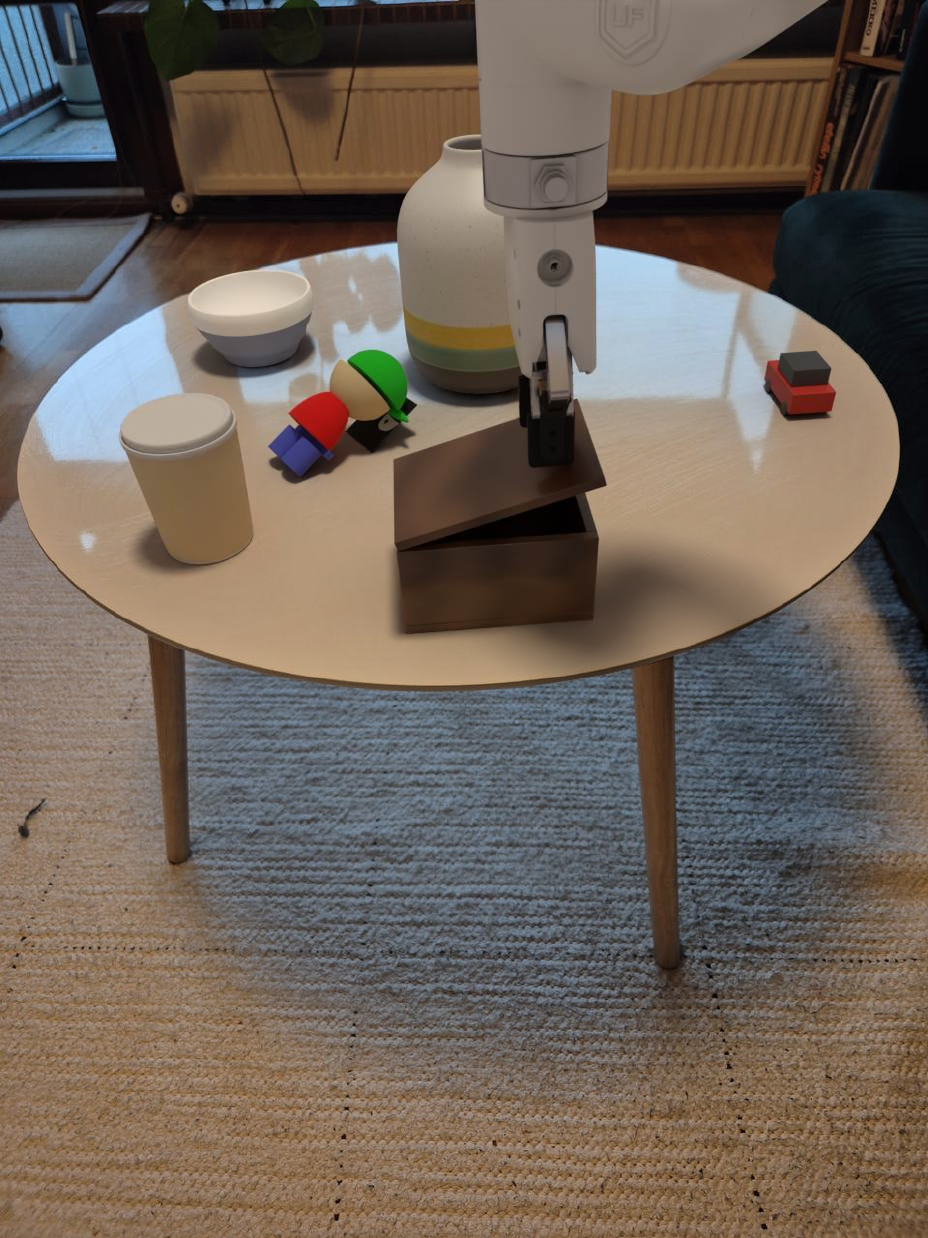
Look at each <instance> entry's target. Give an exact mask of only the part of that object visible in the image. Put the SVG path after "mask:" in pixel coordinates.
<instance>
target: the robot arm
mask: <svg viewBox="0 0 928 1238" xmlns="http://www.w3.org/2000/svg"><path fill="white" fill-rule="evenodd" d="M828 1H829V0H474V7H475V8H474V9H475V30H476V55H477V56H476V57H477V75H478V78H477V80H478V100H479V121H480V123H479V124H480V134H481V148H482V171H483V193H484V206H485V208H486V209H487V210H489V211H491V212H492V213H495V214H497V215H501V216H503V219H504V249H505V273H506V289H507V300H508V310H509V318H510V324H511V330H512V336H513V340H514V345H515V349H516V353H517V357H518V361H519V365H520V368H521V374H524V375H520V376H518V384H519V387H518V418H519V421H520V425H521V426H522V427H524V428H527V437H528V463H529V466H530V467H532V468H539V467H551V466H563V465H570V464H572V463H573V462H574V438H575V411H574V401H573V400H574V370H573V369H574V367H573V360H574V363H575V366H577V370H578V372H579V373H585V375H591V374H593V372H594V371H595V370H596V368H597V257H596V256H597V255H596V253H597V251H596V236H595V234H596V233H595V224H594V223H595V222H594V221H595V220H594V212H593V211H595V210H597V209H599V208H601V207H602V206H604V205H605V204H606V202H608V187H609V164H610V136H611V114H612V113H611V111H612V92H613V91H616V92H620V93H623V94H624V93H625V94H632V95H636V96H637V95H638V96H654V95H663V94H666V93H670V92H673V91H676V90H679V89H681V88H683V87H685V86H688V85H690V84H691V83H693V82H696V81H698V80H700V79H701V78H705V77H706V76H708V75H709V74H711V73H712V72H714V71H715V70H718V69H719V68H722V67H724V66H726V65H729V64H732V63H733V62H735V61H738V60H740V59H742V58H744V57H746V56H748V55H749V54H750V53H753V52H754V51H755V50H757V49H759V48H761V47H762V46H764V45H765V44H767V43H768V42H770V41H771V40H773V39H774V38H775V37H777V36H778V35H779V34H782V33H783V32H784V31H786V30H787V29H788V28H790V27H792V26H793V25H794V24H796V23H797V22H799V21H800V20H802V19H803V18H805V17H806V16H807V15H809V14H810V13H812V12H813V11H815V10H816V9H817V8H819V7H821V6H822V5H824V4H825V3H827V2H828ZM546 380H547V390H542V393H541V395H540V384H539V381H546ZM529 382H530V386H529Z"/></svg>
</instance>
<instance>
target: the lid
mask: <svg viewBox="0 0 928 1238" xmlns="http://www.w3.org/2000/svg"><path fill="white" fill-rule="evenodd" d="M539 384H540V395H541V393H542V390H547V380H546V381H539ZM529 386H530V382H529ZM573 401H574V411H575V438H574V462H573V463H572V464H570V465H563V466H551V467H539V468H532V467H530V466H529V463H528V437H527V428H524V427H522V426H521V425H520V421H519V417H517V418H514V419H510V420H508V421H507V420H506V421H504V422H502V423H498V424H496V425H492V426H490V427H487V428H483V429H481V430H477V431H475V432H472V433H468V434H466V435H462V436H460V437H456V438H453V439H450V440H447V441H445V442H441V443H438V444H436V445H431V446H429V447H426V448H423V449H421V450H418V451H414V452H411V453H408V454H405V455H402V456H399V457H396V458H394V459H393V461H392V462H393V468H392V469H393V544H394V546H395V548H396V551H397V550H398V551H401V550H404V549H407V548H410V547H413V546H417V545H420V544H423V543H426V542H429V541H433V540H436V539H439V538H442V537H445V536H449V535H452V534H455V533H458V532H461V531H464V530H468V529H471V528H474V527H477V526H480V525H484V524H487V523H490V522H493V521H496V520H500V519H503V518H506V517H509V516H512V515H515V514H519V513H522V512H525V511H528V510H531V509H535V508H538V507H541V506H544V505H547V504H550V503H554V502H557V501H560V500H563V499H566V498H570V497H573V496H576V495H579V494H582V493H585V494H587V493H589V492H592V491H596V490H597V489H601V488H604V487H607V486H608V484H607V479H606V477H605V473H604V470H603V468H602V465H601V461H600V459H599V457H598V454H597V450H596V448H595V444H594V442H593V438H592V435H591V434H590V430H589V428H588V424H587V421H586V419H585V416H584V414H583V411H582V407H581V404H580V402H579V399H578V398H573Z"/></svg>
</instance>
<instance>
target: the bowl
mask: <svg viewBox="0 0 928 1238" xmlns="http://www.w3.org/2000/svg"><path fill="white" fill-rule="evenodd" d="M310 283H311V282H310V281H309V280H308V279H307V278H306V277H304V276H302V275H300V274H298V273H295V272H293V271H287V270H279V269H276V270H275V269H256V270H245V271H237V272H233V273H229V274H225V275H222V276H221V275H220V276H218V277H215V278H212V279H210V280H207V281H205V282H202V284H199V285H198V286H196V287H195V288H194V289H193V290H192V291H191V292H190V293H189V294H188V297H187V307H188V313H189V316H190V319H191V322H192V324H193V325H194V327H195V328H196V329H197V330H198V332H199V333H200V334H201V336H202V337H203V338H205V339H206V341H208V342H209V345H210V346H211V347H212V348H213V349H215V350H216V351H217V352H218V353H220V354H222V356H223V357H224V358H225V360H226V361H228V362H229V363H230V364H233V365H235V366H239V367H244V368H263V367H270V366H273V365H277V364H280V363H282V362H284V361H287V360H288V359H290V358H291V357H292V356H293V355H295V354H296V353H297V351H298V348H299V343H300V342H301V340H302V339H303V338H304V336H305V334H306V332H307V326H308V324H309V323H310V321H311V318H312V313H313V311H314V305H315V304H314V294H313V290H312V286H311V284H310Z"/></svg>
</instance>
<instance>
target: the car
mask: <svg viewBox="0 0 928 1238" xmlns="http://www.w3.org/2000/svg"><path fill="white" fill-rule="evenodd" d="M779 354H780V355H779V359H773V360H767V361H766V362H767V363H766V368H765V374H764V379H763V380H764V389H765V392H766V393H773V394H774V395H775V397H776V398H777V400H778V401H779V402H780V404H781V405H780V410H781V414H782V415H783V416H790V415H799V414H800V415H801V414H814V413H821V414H822V413H830V412H832V411H833V407H834V402H835V399H836V396H837V391H836V390H835V389H834V387H833V386H832V385H831V384H830V382H829V381H830V376H831V372H832V366H830V364H829V363H828V362H827V361H826V359H825V358H824V357H823V356H822V355H821V354H820V353H819V351H817V350H805V351H793V352H792V351H791V352H781V353H779Z"/></svg>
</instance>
